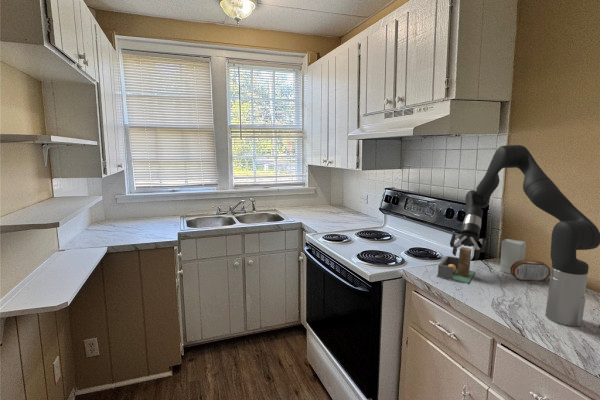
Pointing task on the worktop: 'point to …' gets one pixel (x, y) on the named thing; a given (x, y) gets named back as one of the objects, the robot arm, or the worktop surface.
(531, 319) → the worktop surface
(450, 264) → the ball
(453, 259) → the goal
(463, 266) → the brown wooden block
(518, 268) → the tin
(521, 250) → the skincare box
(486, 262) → the worktop surface
